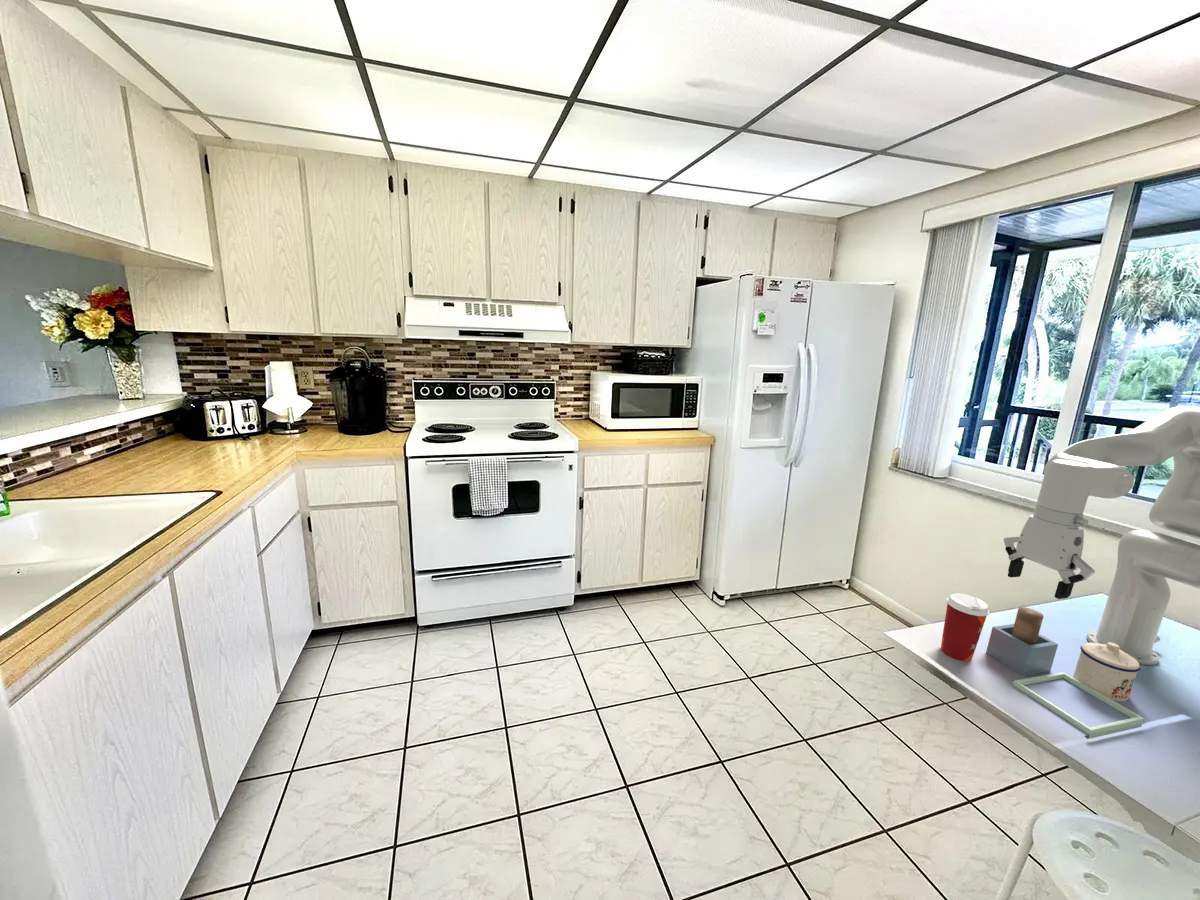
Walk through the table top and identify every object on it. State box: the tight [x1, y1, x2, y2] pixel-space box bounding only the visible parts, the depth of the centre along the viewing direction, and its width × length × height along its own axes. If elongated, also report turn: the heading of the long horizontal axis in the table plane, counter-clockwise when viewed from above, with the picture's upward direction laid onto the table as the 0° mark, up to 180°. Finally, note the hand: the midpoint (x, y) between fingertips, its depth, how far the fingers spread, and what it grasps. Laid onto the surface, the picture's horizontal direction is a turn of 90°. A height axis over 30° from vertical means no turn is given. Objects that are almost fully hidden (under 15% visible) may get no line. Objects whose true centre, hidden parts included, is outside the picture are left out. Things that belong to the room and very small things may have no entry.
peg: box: [1011, 606, 1044, 645], centre depth 112 cm, size 4×4×13 cm
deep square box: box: [985, 623, 1059, 676], centre depth 113 cm, size 8×8×8 cm
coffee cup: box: [940, 592, 991, 663], centre depth 114 cm, size 8×8×15 cm
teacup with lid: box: [1072, 642, 1141, 702], centre depth 105 cm, size 12×9×12 cm
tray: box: [1012, 671, 1145, 740], centre depth 100 cm, size 15×14×2 cm
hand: (1036, 586), depth 109 cm, fingers open, 9 cm apart
